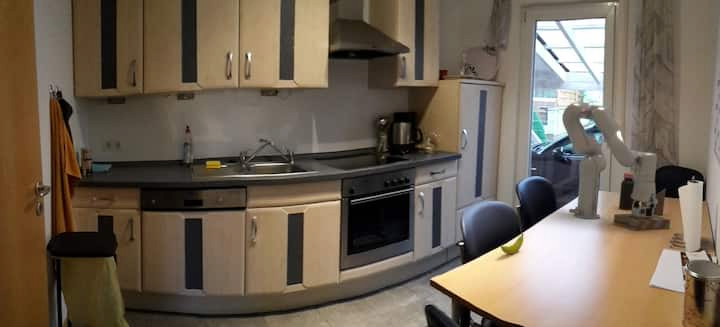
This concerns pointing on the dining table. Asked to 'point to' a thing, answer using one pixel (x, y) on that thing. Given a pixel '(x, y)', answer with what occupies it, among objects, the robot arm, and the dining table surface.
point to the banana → (513, 246)
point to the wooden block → (660, 205)
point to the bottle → (626, 192)
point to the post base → (641, 222)
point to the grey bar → (640, 213)
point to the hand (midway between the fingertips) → (642, 213)
